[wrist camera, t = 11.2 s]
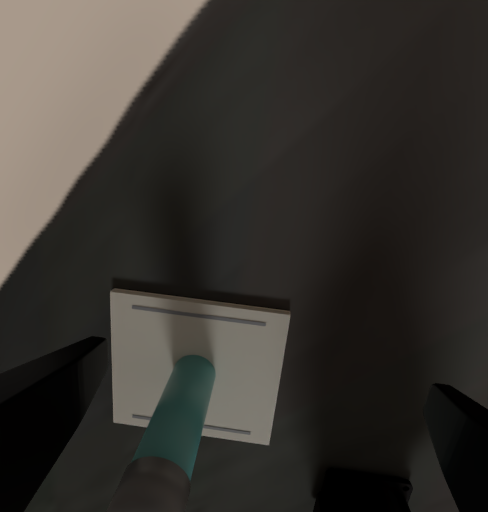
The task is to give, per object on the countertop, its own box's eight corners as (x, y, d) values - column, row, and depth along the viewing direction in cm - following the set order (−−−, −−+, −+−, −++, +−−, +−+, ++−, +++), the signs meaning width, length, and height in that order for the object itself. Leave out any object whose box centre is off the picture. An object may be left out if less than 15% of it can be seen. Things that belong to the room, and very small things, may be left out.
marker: (218, 356, 22) (180, 508, 13) (215, 394, 23) (177, 561, 14) (173, 350, 22) (101, 495, 13) (171, 388, 23) (104, 549, 14)
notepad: (289, 310, 21) (290, 315, 21) (268, 438, 25) (268, 446, 24) (114, 288, 22) (109, 292, 21) (116, 416, 25) (113, 423, 25)
